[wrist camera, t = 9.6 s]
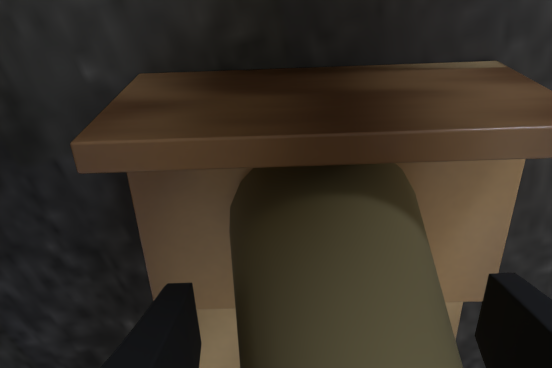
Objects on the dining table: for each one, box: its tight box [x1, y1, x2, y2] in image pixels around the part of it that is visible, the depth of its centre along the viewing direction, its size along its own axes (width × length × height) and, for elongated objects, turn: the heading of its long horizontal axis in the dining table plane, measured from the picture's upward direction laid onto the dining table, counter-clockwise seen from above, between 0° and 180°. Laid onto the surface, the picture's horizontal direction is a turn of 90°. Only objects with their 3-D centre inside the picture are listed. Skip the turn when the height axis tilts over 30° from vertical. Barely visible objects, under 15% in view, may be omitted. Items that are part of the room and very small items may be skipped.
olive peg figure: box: [229, 163, 463, 368], centre depth 10 cm, size 6×6×11 cm
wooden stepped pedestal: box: [70, 61, 552, 368], centre depth 16 cm, size 12×16×6 cm
